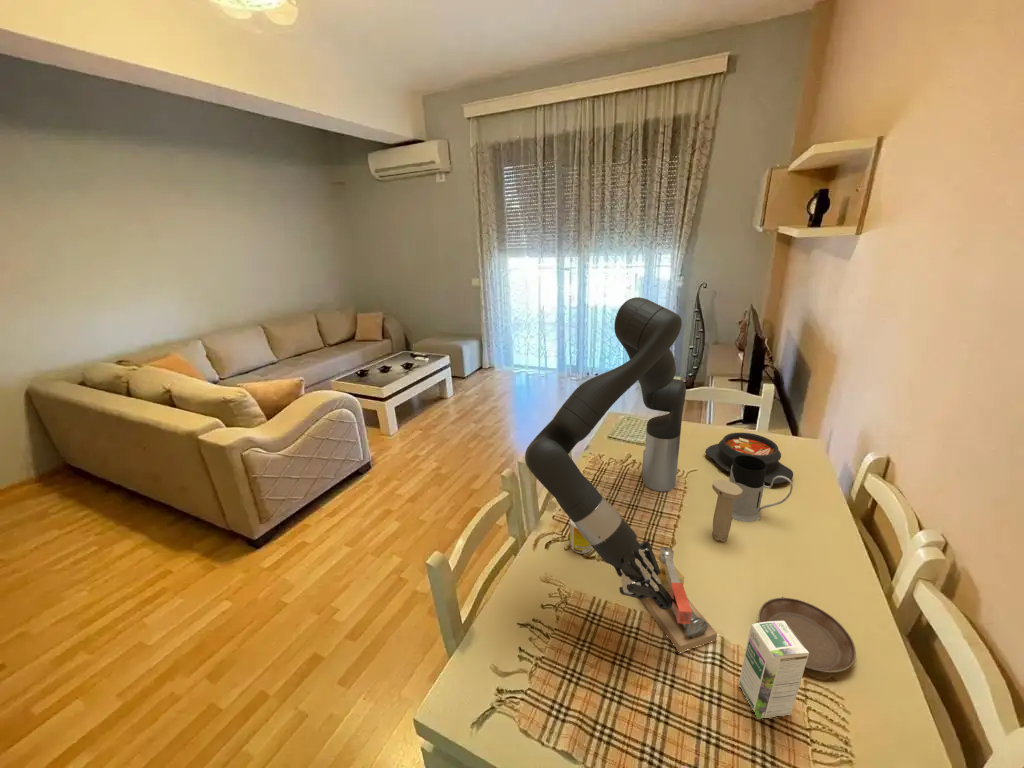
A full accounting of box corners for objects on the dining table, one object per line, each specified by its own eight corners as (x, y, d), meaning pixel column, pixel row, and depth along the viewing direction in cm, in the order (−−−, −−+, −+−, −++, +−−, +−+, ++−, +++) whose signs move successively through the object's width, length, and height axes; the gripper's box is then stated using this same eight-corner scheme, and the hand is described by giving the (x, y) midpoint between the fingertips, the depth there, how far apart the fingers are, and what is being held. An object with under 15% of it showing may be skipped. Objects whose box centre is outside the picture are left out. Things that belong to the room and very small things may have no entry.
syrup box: (736, 684, 72) (748, 622, 67) (769, 680, 72) (784, 618, 67) (757, 721, 66) (772, 657, 61) (793, 716, 67) (811, 652, 62)
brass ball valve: (624, 562, 96) (626, 530, 93) (644, 556, 98) (647, 525, 94) (684, 644, 77) (689, 607, 74) (708, 635, 79) (714, 599, 75)
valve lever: (657, 556, 86) (658, 545, 85) (670, 556, 85) (672, 545, 84) (675, 623, 72) (677, 610, 71) (691, 624, 71) (693, 611, 70)
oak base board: (618, 567, 97) (618, 560, 96) (648, 558, 99) (649, 551, 98) (679, 654, 77) (680, 646, 76) (715, 640, 79) (717, 633, 78)
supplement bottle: (597, 549, 103) (598, 515, 99) (578, 557, 100) (578, 523, 97) (584, 535, 107) (584, 502, 104) (565, 543, 105) (565, 509, 101)
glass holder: (728, 497, 118) (735, 450, 113) (787, 516, 110) (798, 467, 104) (719, 513, 112) (726, 465, 107) (781, 535, 103) (792, 483, 98)
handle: (725, 549, 100) (734, 497, 95) (701, 534, 105) (708, 483, 100) (737, 541, 102) (746, 489, 97) (713, 526, 108) (721, 476, 102)
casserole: (804, 474, 126) (810, 450, 123) (770, 497, 117) (775, 471, 114) (726, 442, 146) (729, 420, 143) (692, 459, 137) (694, 437, 134)
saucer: (875, 676, 72) (879, 665, 71) (792, 686, 71) (794, 675, 70) (810, 603, 86) (813, 593, 85) (740, 611, 85) (742, 601, 84)
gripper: (607, 545, 68) (679, 631, 67) (629, 499, 79) (691, 573, 78) (576, 559, 73) (643, 640, 71) (601, 514, 83) (659, 584, 82)
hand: (668, 605), depth 75 cm, fingers closed
